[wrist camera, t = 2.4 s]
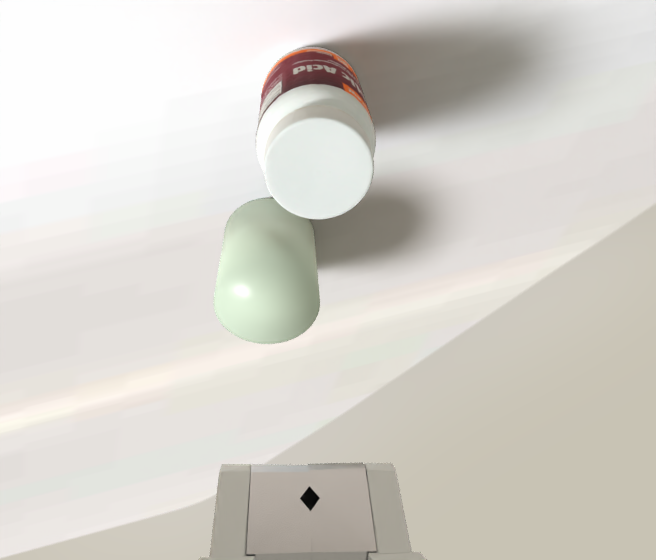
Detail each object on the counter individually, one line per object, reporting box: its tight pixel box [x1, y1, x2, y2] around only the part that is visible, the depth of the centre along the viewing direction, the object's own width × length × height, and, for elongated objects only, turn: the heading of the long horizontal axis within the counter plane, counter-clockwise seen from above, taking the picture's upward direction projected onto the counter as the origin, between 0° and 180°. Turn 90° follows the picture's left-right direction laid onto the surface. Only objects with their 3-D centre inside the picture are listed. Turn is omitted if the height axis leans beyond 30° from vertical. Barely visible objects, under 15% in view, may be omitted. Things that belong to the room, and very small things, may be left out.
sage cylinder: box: [214, 198, 320, 344], centre depth 29 cm, size 5×5×6 cm
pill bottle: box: [256, 47, 376, 219], centre depth 24 cm, size 5×5×8 cm
